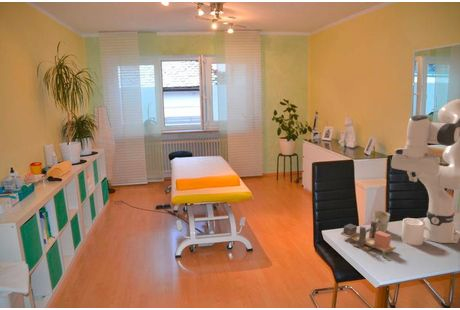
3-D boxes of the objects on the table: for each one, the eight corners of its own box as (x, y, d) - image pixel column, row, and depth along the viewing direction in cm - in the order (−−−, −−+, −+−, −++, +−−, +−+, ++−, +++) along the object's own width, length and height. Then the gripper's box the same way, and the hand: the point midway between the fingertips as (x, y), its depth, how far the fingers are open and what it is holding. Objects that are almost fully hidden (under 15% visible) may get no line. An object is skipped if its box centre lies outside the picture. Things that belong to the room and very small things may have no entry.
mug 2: (430, 240, 184) (432, 221, 182) (430, 248, 175) (432, 228, 173) (401, 235, 191) (403, 216, 188) (400, 242, 182) (402, 223, 180)
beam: (340, 235, 187) (340, 223, 185) (349, 230, 192) (350, 219, 191) (387, 253, 167) (388, 240, 166) (396, 248, 173) (397, 235, 171)
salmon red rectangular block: (373, 244, 174) (375, 232, 173) (377, 241, 177) (379, 230, 175) (385, 248, 170) (386, 237, 168) (389, 245, 172) (390, 234, 171)
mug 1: (390, 230, 197) (391, 213, 195) (383, 237, 188) (384, 220, 186) (375, 226, 203) (376, 210, 201) (367, 233, 193) (369, 216, 191)
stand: (353, 245, 179) (354, 225, 177) (366, 238, 187) (367, 218, 185) (384, 257, 167) (386, 236, 164) (397, 249, 175) (399, 228, 172)
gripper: (443, 154, 153) (440, 184, 155) (397, 147, 168) (394, 175, 171) (437, 156, 149) (434, 187, 151) (390, 149, 164) (388, 178, 167)
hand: (413, 181), depth 161 cm, fingers closed
